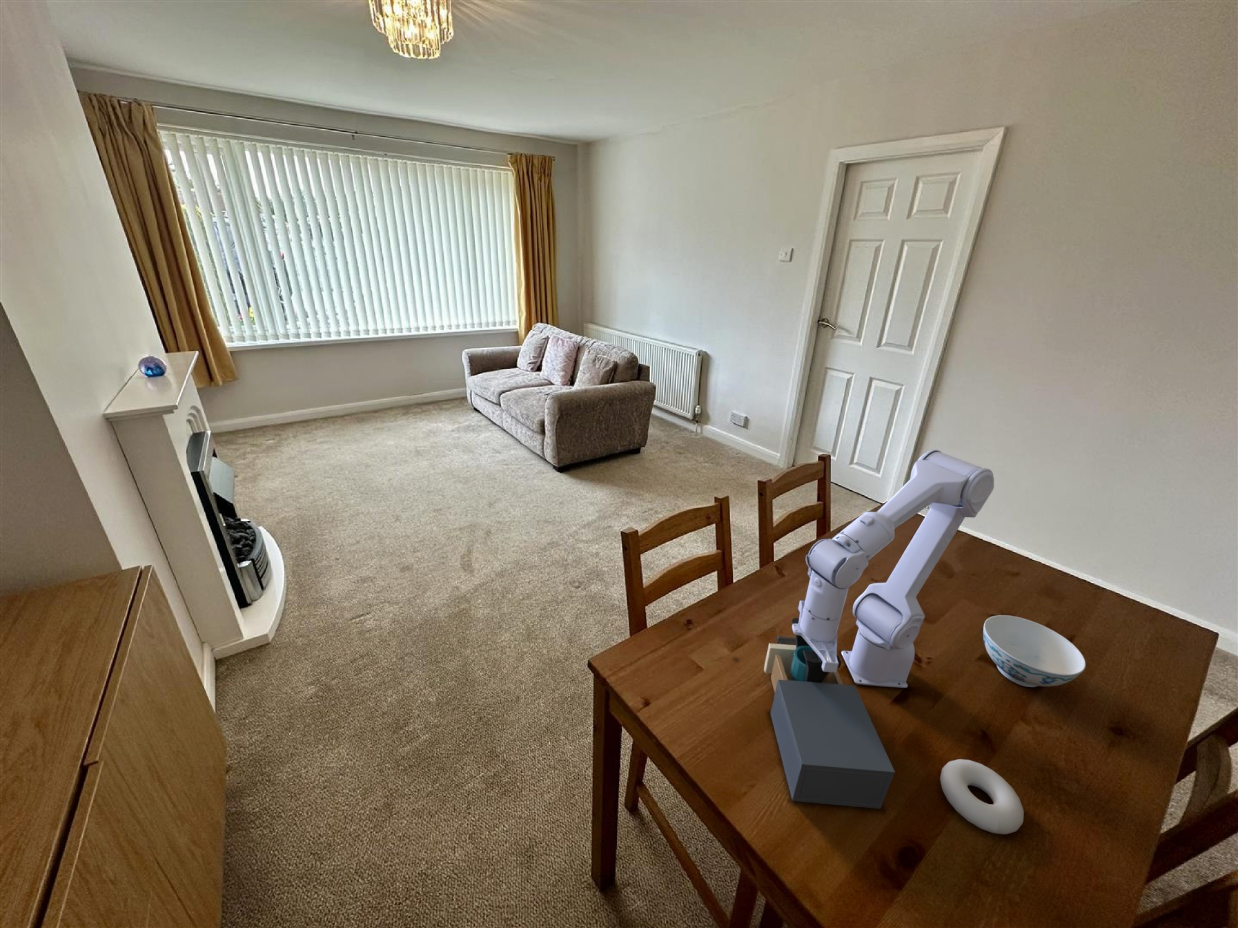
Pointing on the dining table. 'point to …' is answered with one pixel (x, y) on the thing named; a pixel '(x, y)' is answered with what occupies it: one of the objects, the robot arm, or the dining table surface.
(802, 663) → the cup
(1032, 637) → the chinaware
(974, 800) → the donut
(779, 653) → the drawer
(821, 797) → the cabinet
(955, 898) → the dining table surface
